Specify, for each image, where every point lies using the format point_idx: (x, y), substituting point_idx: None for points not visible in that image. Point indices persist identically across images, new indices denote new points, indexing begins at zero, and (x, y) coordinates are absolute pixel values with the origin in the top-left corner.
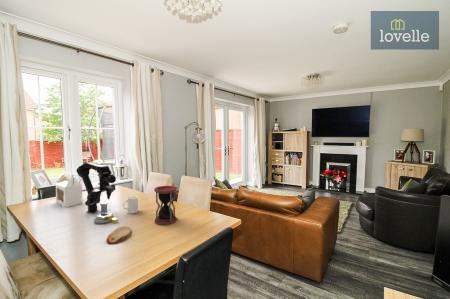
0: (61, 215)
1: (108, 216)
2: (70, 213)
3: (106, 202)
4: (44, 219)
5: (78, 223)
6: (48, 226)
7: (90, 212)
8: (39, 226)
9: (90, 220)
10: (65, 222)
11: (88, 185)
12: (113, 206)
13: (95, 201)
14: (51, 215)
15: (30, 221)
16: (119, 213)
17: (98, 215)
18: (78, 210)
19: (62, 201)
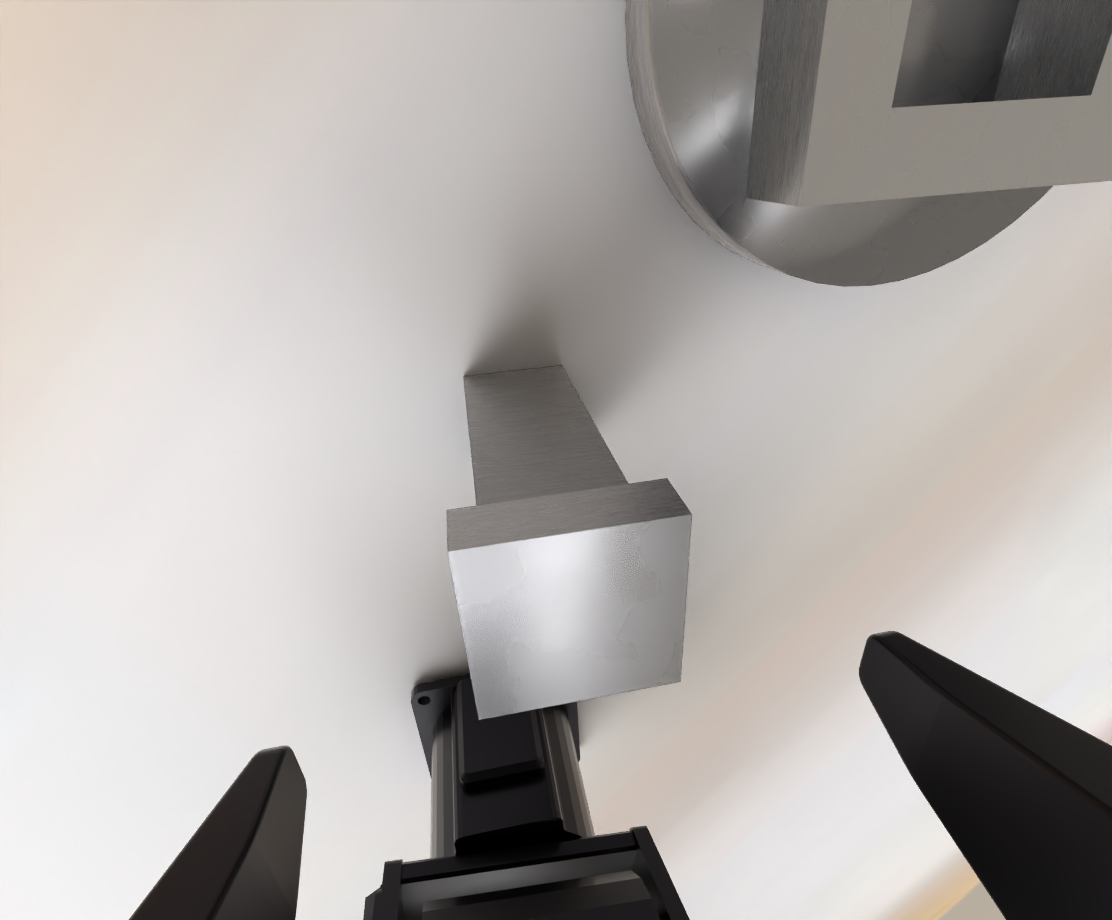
0: (767, 842)
1: None
2: (682, 839)
3: (468, 617)
4: (902, 843)
5: (1029, 427)
6: (1105, 650)
7: None
8: (1094, 715)
9: (887, 364)
10: (985, 617)
11: None
12: (22, 682)
13: (552, 909)
14: (789, 895)
15: (959, 868)
16: (231, 47)
17: (1087, 116)
18: None
19: None
